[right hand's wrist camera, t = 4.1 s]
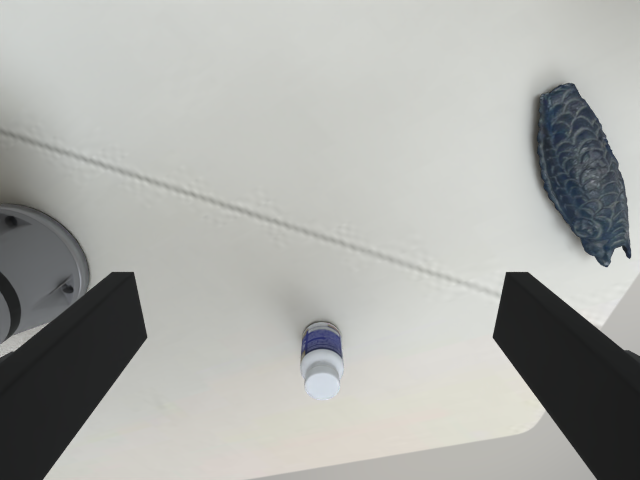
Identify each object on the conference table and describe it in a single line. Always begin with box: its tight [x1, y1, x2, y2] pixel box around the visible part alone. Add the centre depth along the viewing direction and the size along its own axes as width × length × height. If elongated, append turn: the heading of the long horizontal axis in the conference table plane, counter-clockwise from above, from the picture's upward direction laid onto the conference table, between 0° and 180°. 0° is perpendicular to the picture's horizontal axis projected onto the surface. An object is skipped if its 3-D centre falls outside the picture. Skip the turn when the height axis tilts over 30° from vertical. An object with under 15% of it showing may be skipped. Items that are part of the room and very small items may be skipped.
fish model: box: [537, 83, 631, 267], centre depth 38 cm, size 7×21×5 cm, turn 29°
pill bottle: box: [300, 322, 344, 400], centre depth 44 cm, size 5×5×9 cm
